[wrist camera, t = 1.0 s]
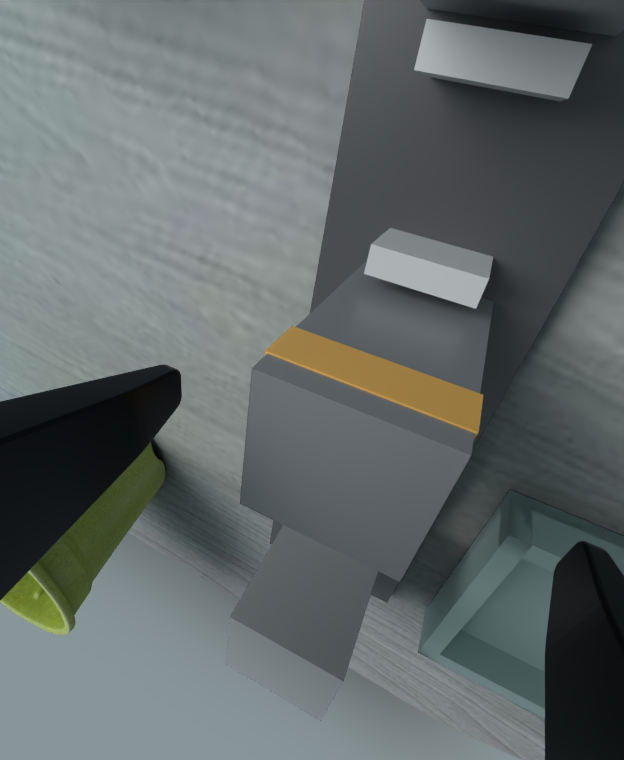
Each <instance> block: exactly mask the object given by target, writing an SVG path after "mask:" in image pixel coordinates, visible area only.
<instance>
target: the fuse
mask: <svg viewBox="0 0 624 760" xmlns="http://www.w3.org/2000/svg"><path fill="white" fill-rule="evenodd" d="M365 267H366V262H364V263H363V264H362V265H361V266H360V267H359V268H358V269H357V270H356V271H355V272H354V273H353V274H352V275H351V276H349V277H348V278H347V279H346V280H345V281H344V282H343V283H342V284H341V285H340V286H339V287H338V288H337V289H336V290H335V291H334V292H332V293H331V294H330V295H329V296H328V297H327V298H326V299H325V300H324V301H323V302H322V303H321V304H320V305H319V306H318V307H317V308H315V309H314V310H313V311H312V312H311V313H310V314H309V315H308V316H307V317H306V318H305V319H304V320H303V321H302V322H301V323H300V324H298V325H297V326H296V327H294V326H292V327H290V328H289V329H288V330H287V331H286V332H285V333H284V334H283V335H282V336H281V337H280V338H279V339H277V340H276V341H275V342H274V343H273V344H272V345H271V346H270V347H269V348H268V349H267V350H266V351H265V356H264V357H263V358H262V359H261V360H260V361H259V362H258V363H257V364H256V365H255V366H254V367H253V368H252V372H251V384H250V395H249V406H248V418H247V429H246V440H245V451H244V463H243V474H242V485H241V497H240V504H242V505H244V506H246V507H248V508H250V509H252V510H254V511H256V512H258V513H260V514H262V515H264V516H266V517H268V518H270V519H272V520H274V521H276V522H278V523H280V524H283V525H285V526H287V527H289V528H291V529H293V530H295V531H297V532H299V533H301V534H303V535H305V536H307V537H309V538H311V539H313V540H315V541H317V542H319V543H321V544H323V545H325V546H327V547H330V548H332V549H334V550H336V551H338V552H340V553H342V554H344V555H346V556H348V557H350V558H352V559H354V560H356V561H358V562H360V563H362V564H364V565H366V566H368V567H370V568H372V569H374V570H377V571H379V572H381V573H383V574H385V575H387V576H389V577H391V578H393V579H395V580H397V581H399V582H400V581H401V579H402V577H403V575H404V574H405V572H406V570H407V568H408V566H409V565H410V563H411V561H412V559H413V558H414V556H415V554H416V552H417V551H418V549H419V547H420V545H421V544H422V542H423V540H424V538H425V536H426V535H427V533H428V531H429V529H430V528H431V526H432V524H433V522H434V521H435V519H436V517H437V515H438V513H439V512H440V510H441V508H442V506H443V505H444V503H445V501H446V499H447V498H448V496H449V494H450V492H451V491H452V489H453V487H454V485H455V483H456V482H457V480H458V478H459V476H460V475H461V473H462V471H463V469H464V468H465V466H466V464H467V462H468V460H469V459H470V457H471V454H472V447H473V441H474V439H475V438H476V436H477V434H478V432H479V425H480V418H481V410H482V402H483V394H480V391H481V384H482V378H483V371H484V364H485V357H486V350H487V343H488V336H489V329H490V322H491V315H492V308H493V301H490V300H487V299H483V298H481V299H480V301H479V303H478V305H477V308H476V309H475V308H471V307H468V306H465V305H462V304H459V303H456V302H452V301H449V300H446V299H443V298H440V297H436V296H433V295H430V294H427V293H424V292H420V291H417V290H414V289H411V288H408V287H405V286H401V285H398V284H395V283H392V282H389V281H385V280H382V279H379V278H376V277H373V276H369V275H366V274H364V271H365Z"/></svg>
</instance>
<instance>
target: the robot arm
mask: <svg viewBox="0 0 624 760" xmlns="http://www.w3.org/2000/svg"><path fill="white" fill-rule="evenodd" d="M181 397H182V392H181V374H180V372H179V371H178V370H177V369H175V368H173V367H170V366H168V365H158V366H154V367H149V368H145V369H141V370H136V371H132V372H128V373H123V374H119V375H115V376H110V377H106V378H101V379H97V380H93V381H88V382H84V383H80V384H75V385H71V386H67V387H62V388H58V389H53V390H49V391H45V392H40V393H36V394H32V395H27V396H23V397H19V398H14V399H10V400H5V401H1V402H0V601H1V600H2V599H3V598H4V596H5V595H6V594H7V593H8V592H9V591H10V590H11V589H12V588H13V587H14V586H15V585H16V584H17V583H18V582H19V581H20V580H21V579H22V578H23V577H24V576H25V575H26V574H27V572H28V571H29V570H30V569H31V568H32V567H33V566H34V565H35V564H36V563H37V562H38V561H39V560H40V559H41V558H42V557H43V556H44V555H45V554H46V553H47V552H48V551H49V550H50V548H51V547H52V546H53V545H54V544H55V543H56V542H57V541H58V540H59V539H60V538H61V537H62V536H63V535H64V534H65V533H66V532H67V531H68V530H69V529H70V528H71V527H72V525H73V524H74V523H75V522H76V521H77V520H78V519H79V518H80V517H81V516H82V515H83V514H84V513H85V512H86V511H87V510H88V509H89V508H90V507H91V506H92V505H93V504H94V503H95V501H96V500H97V499H98V498H99V497H100V496H101V495H102V494H103V493H104V492H105V491H106V490H107V489H108V488H109V487H110V486H111V485H112V484H113V483H114V482H115V481H116V480H117V478H118V477H119V476H120V475H121V474H122V473H123V472H124V471H125V470H126V469H127V468H128V467H129V466H130V465H131V464H132V463H133V462H134V461H135V460H136V459H137V457H138V456H139V455H140V454H141V453H142V452H143V451H144V449H145V448H146V447H147V446H148V445H149V443H150V442H151V441H152V439H153V438H154V437H155V436H156V434H157V433H158V432H159V430H160V429H161V428H162V426H163V425H164V424H165V423H166V421H167V420H168V419H169V417H170V416H171V415H172V414H173V412H174V411H175V410H176V408H177V407H178V406H179V404H180V401H181ZM545 760H624V575H623V573H622V572H621V570H620V569H619V567H618V566H617V565H616V563H615V562H614V560H613V559H612V557H611V556H610V555H609V553H608V552H607V551H606V550H604V549H603V548H601V547H598V546H596V545H593V544H591V543H589V542H586V541H579V542H577V543H576V544H575V545H574V546H573V547H572V548H571V549H570V550H569V551H568V552H567V553H566V554H565V556H564V557H563V558H562V559H561V560H560V561H559V562H558V563H557V565H556V567H555V570H554V574H553V583H552V591H551V600H550V608H549V617H548V626H547V634H546V644H545Z"/></svg>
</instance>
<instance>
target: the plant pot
mask: <svg viewBox="0 0 624 760" xmlns="http://www.w3.org/2000/svg"><path fill="white" fill-rule="evenodd" d="M164 480H165V467H164V464H163V462H162V461H161V460H159V459H158V458H157V457H156V456H155V454H154V452H153V449H152V445H151V442H150V443H149V445H148V446H147V447H146V448H145V449H144V451H143V452H142V453H141V454H140V455H139V456H138V457H137V459H136V460H135V461H134V462H133V463H132V464H131V465H130V466H129V467H128V468H127V469H126V470H125V471H124V472H123V473H122V474H121V475H120V476H119V477H118V478H117V480H116V481H115V482H114V483H113V484H112V485H111V486H110V487H109V488H108V489H107V490H106V491H105V492H104V493H103V494H102V495H101V496H100V497H99V498H98V499H97V500H96V501H95V503H94V504H93V505H92V506H91V507H90V508H89V509H88V510H87V511H86V512H85V513H84V514H83V515H82V516H81V517H80V518H79V519H78V520H77V521H76V522H75V523H74V524H73V525H72V527H71V528H70V529H69V530H68V531H67V532H66V533H65V534H64V535H63V536H62V537H61V538H60V539H59V540H58V541H57V542H56V543H55V544H54V545H53V546H52V547H51V548H50V550H49V551H48V552H47V553H46V554H45V555H44V556H43V557H42V558H41V559H40V560H39V561H38V562H37V563H36V564H35V565H34V566H33V567H32V568H31V569H30V570H29V571H28V572H27V574H26V575H25V576H24V577H23V578H22V579H21V580H20V581H19V582H18V583H17V584H16V585H15V586H14V587H13V588H12V589H11V590H10V591H9V592H8V593H7V594H6V595H5V596H4V598H3V599H2V600H1V601H0V602H1V603H2V604H3V605H5V606H6V607H7V608H9V609H10V610H11V611H13V612H14V613H16V614H17V615H19V616H20V617H22V618H23V619H25V620H27V621H29V622H30V623H32V624H34V625H36V626H38V627H40V628H42V629H44V630H46V631H48V632H50V633H54V634H57V635H66V634H68V633H70V631H71V630H72V629H73V628H74V626H75V617H74V615H75V613H76V612H77V610H78V609H79V607H80V606H81V604H82V603H83V601H84V600H85V598H86V597H87V595H88V594H89V592H90V590H91V586H92V582H93V580H94V579H95V577H96V576H97V575H98V573H99V572H100V570H101V569H102V567H103V566H104V564H105V563H106V562H107V560H108V559H109V557H110V556H111V555H112V553H113V552H114V550H115V549H116V548H117V546H118V545H119V543H120V542H121V541H122V539H123V538H124V536H125V535H126V533H127V532H128V531H129V529H130V528H131V527H132V525H133V524H134V522H135V521H136V520H137V518H138V517H139V516H140V514H141V513H142V512H143V510H144V509H145V508H146V506H147V505H148V504H149V502H150V501H151V499H152V498H153V497H154V495H155V494H156V492H157V491H158V490H159V489H160V487H161V486H162V484H163V483H164Z"/></svg>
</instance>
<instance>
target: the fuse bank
mask: <svg viewBox="0 0 624 760" xmlns="http://www.w3.org/2000/svg"><path fill="white" fill-rule="evenodd" d="M623 182H624V0H364V6H363V12H362V18H361V23H360V29H359V35H358V41H357V46H356V52H355V58H354V63H353V69H352V75H351V81H350V86H349V92H348V98H347V104H346V109H345V115H344V121H343V126H342V132H341V138H340V144H339V149H338V155H337V161H336V167H335V172H334V178H333V184H332V190H331V195H330V201H329V207H328V212H327V218H326V224H325V230H324V235H323V241H322V247H321V253H320V258H319V264H318V270H317V275H316V281H315V287H314V293H313V298H312V304H311V310H310V313H311V312H312V311H313V310H314V309H315V308H317V307H318V306H319V305H320V304H321V303H322V302H323V301H324V300H325V299H326V298H327V297H328V296H329V295H330V294H331V293H332V292H334V291H335V290H336V289H337V288H338V287H339V286H340V285H341V284H342V283H343V282H344V281H345V280H346V279H347V278H348V277H349V276H351V275H352V274H353V273H354V272H355V271H356V270H357V269H358V268H359V267H360V266H361V265H362V264H363V263H364V262H366V267H365V271H364V274H366V275H369V276H373V277H376V278H379V279H382V280H385V281H389V282H392V283H395V284H398V285H401V286H405V287H408V288H411V289H414V290H417V291H420V292H424V293H427V294H430V295H433V296H436V297H440V298H443V299H446V300H449V301H452V302H456V303H459V304H462V305H465V306H468V307H471V308H475V309H476V308H477V305H478V303H479V301H480V299H481V298H483V299H487V300H490V301H493V308H492V315H491V322H490V329H489V336H488V343H487V350H486V357H485V364H484V371H483V378H482V384H481V391H480V394H483V402H482V410H481V418H480V425H479V432H478V434H477V436H476V438H475V439H474V441H473V447H472V450H473V449H474V447H475V445H476V443H477V442H478V440H479V438H480V436H481V434H482V433H483V431H484V429H485V427H486V426H487V424H488V422H489V420H490V418H491V417H492V415H493V413H494V411H495V410H496V408H497V406H498V404H499V402H500V401H501V399H502V397H503V395H504V394H505V392H506V390H507V388H508V386H509V385H510V383H511V381H512V379H513V378H514V376H515V374H516V372H517V370H518V369H519V367H520V365H521V363H522V362H523V360H524V358H525V356H526V354H527V353H528V351H529V349H530V347H531V346H532V344H533V342H534V340H535V338H536V337H537V335H538V333H539V331H540V330H541V328H542V326H543V324H544V322H545V321H546V319H547V317H548V315H549V314H550V312H551V310H552V308H553V306H554V305H555V303H556V301H557V299H558V298H559V296H560V294H561V292H562V290H563V289H564V287H565V285H566V283H567V282H568V280H569V278H570V276H571V274H572V273H573V271H574V269H575V267H576V266H577V264H578V262H579V260H580V258H581V257H582V255H583V253H584V251H585V250H586V248H587V246H588V244H589V242H590V241H591V239H592V237H593V235H594V234H595V232H596V230H597V228H598V226H599V225H600V223H601V221H602V219H603V218H604V216H605V214H606V212H607V210H608V209H609V207H610V205H611V203H612V202H613V200H614V198H615V196H616V194H617V193H618V191H619V189H620V187H621V186H622V184H623ZM270 544H272V545H271V547H270V549H269V550H268V552H267V554H266V555H265V557H264V559H263V561H262V562H261V564H260V566H259V568H258V569H257V571H256V573H255V574H254V576H253V578H252V580H251V581H250V583H249V585H248V587H247V588H246V590H245V592H244V593H243V595H242V597H241V599H240V600H239V602H238V604H237V605H236V607H235V609H234V611H233V612H232V614H231V616H230V622H229V632H228V644H227V655H226V665H228V666H230V667H231V668H233V669H235V670H236V671H238V672H240V673H241V674H243V675H245V676H246V677H248V678H250V679H251V680H253V681H255V682H256V683H258V684H260V685H261V686H263V687H265V688H266V689H268V690H270V691H271V692H273V693H275V694H277V695H278V696H280V697H281V698H283V699H285V700H286V701H288V702H290V703H291V704H293V705H295V706H297V707H298V708H300V709H302V710H303V711H305V712H306V713H308V714H310V715H311V716H313V717H315V718H316V719H318V720H320V721H321V720H322V718H323V717H324V715H325V713H326V711H327V710H328V708H329V706H330V704H331V703H332V701H333V699H334V697H335V695H336V693H337V692H338V690H339V688H340V687H341V685H342V683H343V681H344V678H345V675H346V672H347V668H348V665H349V662H350V659H351V656H352V652H353V649H354V646H355V643H356V640H357V636H358V633H359V630H360V627H361V624H362V620H363V617H364V614H365V611H366V608H367V604H368V601H369V598H370V595H373V596H375V597H377V598H379V599H381V600H383V601H385V602H388V600H389V598H390V596H391V594H392V593H393V591H394V589H395V587H396V586H397V584H398V582H399V581H397V580H395V579H393V578H391V577H389V576H387V575H385V574H383V573H381V572H379V571H377V570H374V569H372V568H370V567H368V566H366V565H364V564H362V563H360V562H358V561H356V560H354V559H352V558H350V557H348V556H346V555H344V554H342V553H340V552H338V551H336V550H334V549H332V548H330V547H327V546H325V545H323V544H321V543H319V542H317V541H315V540H313V539H311V538H309V537H307V536H305V535H303V534H301V533H299V532H297V531H295V530H293V529H291V528H289V527H287V526H285V525H283V524H280V523H278V522H276V521H274V522H273V528H272V533H271V539H270Z"/></svg>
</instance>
